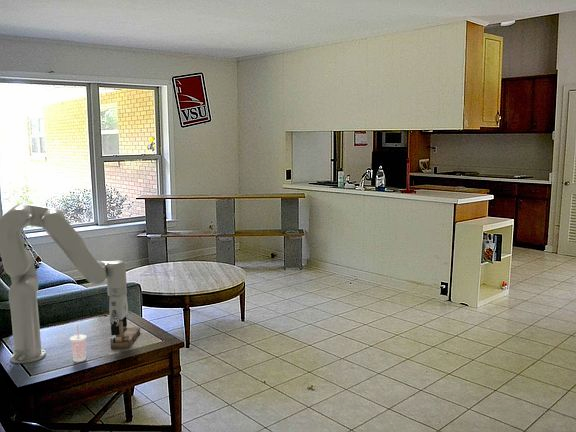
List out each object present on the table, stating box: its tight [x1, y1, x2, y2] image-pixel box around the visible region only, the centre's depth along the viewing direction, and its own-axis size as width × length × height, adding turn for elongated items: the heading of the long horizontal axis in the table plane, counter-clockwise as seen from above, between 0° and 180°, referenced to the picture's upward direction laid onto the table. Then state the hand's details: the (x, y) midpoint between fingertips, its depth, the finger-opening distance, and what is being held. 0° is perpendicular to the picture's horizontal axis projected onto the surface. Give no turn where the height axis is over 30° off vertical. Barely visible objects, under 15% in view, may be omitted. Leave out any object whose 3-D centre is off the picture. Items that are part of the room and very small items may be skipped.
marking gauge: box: [115, 320, 129, 342], centre depth 220 cm, size 4×5×8 cm
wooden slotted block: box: [109, 325, 141, 349], centre depth 227 cm, size 18×7×4 cm, turn 0°
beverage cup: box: [69, 324, 88, 363], centre depth 206 cm, size 6×6×14 cm
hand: (119, 330), depth 220 cm, fingers open, 9 cm apart
